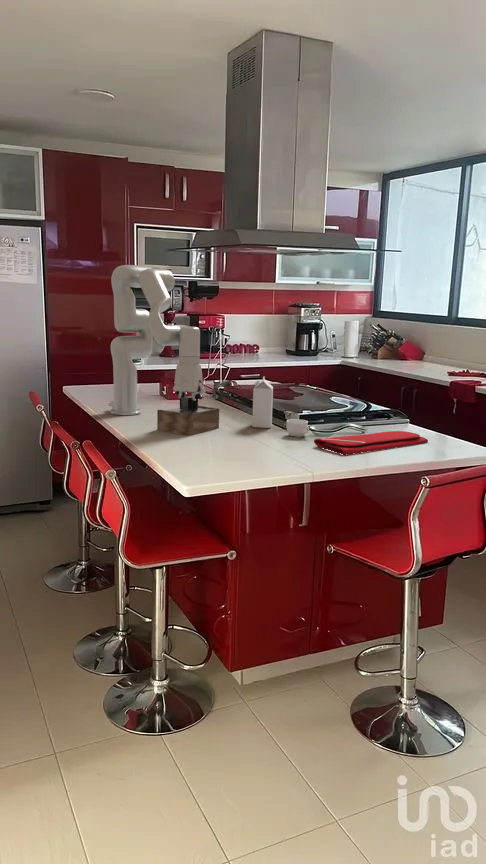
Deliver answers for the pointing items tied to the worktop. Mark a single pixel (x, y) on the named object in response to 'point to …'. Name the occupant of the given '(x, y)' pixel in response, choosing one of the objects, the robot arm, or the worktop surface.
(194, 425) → the walnut box
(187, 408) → the cover plate
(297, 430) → the teacup
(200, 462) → the worktop surface
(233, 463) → the worktop surface
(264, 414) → the milk carton
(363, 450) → the dish drying mat
